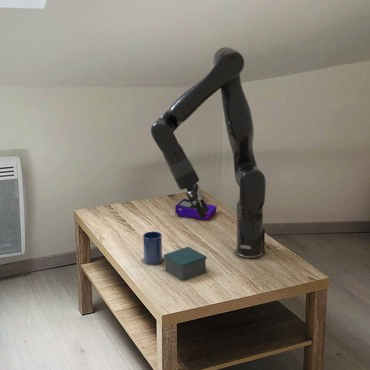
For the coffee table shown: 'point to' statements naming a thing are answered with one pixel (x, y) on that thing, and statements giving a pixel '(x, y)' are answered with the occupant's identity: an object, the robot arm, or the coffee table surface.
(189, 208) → the handheld gaming console
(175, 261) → the container
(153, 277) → the coffee table surface
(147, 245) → the cup
